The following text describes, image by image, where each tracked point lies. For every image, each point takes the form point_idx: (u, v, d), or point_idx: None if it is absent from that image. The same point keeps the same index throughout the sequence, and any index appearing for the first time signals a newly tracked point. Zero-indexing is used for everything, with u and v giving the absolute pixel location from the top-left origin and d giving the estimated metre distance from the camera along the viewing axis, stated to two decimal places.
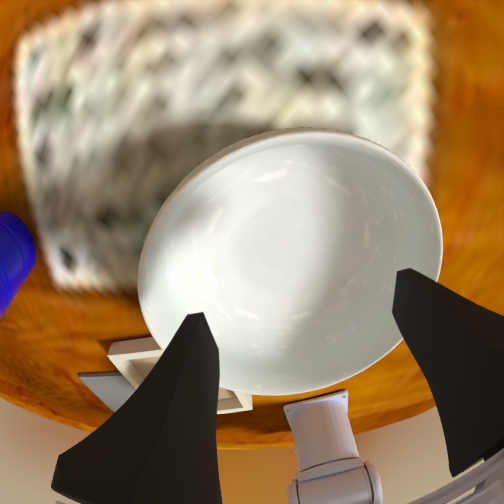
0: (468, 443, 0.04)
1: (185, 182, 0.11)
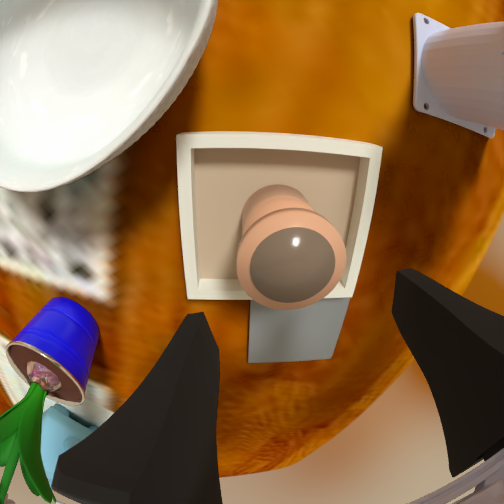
0: (468, 443, 0.04)
1: None
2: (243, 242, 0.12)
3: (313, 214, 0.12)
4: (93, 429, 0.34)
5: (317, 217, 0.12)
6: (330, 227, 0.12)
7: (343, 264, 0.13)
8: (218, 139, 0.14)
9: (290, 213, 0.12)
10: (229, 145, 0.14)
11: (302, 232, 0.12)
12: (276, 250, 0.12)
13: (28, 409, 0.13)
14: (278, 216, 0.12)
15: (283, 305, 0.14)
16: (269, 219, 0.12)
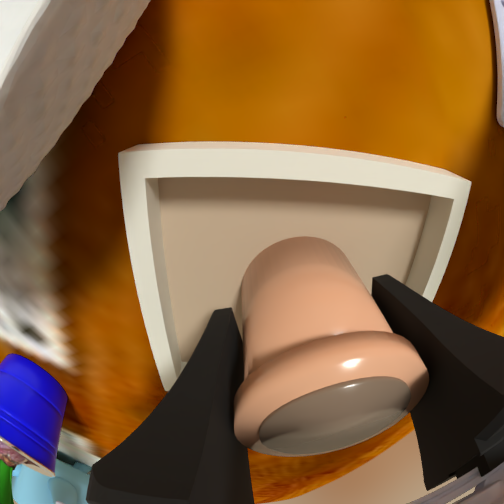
0: (440, 458, 0.04)
1: None
2: (247, 402, 0.05)
3: (395, 348, 0.05)
4: (79, 465, 0.26)
5: (402, 356, 0.05)
6: (418, 366, 0.05)
7: (416, 402, 0.06)
8: (197, 160, 0.07)
9: (353, 358, 0.05)
10: (218, 172, 0.07)
11: (369, 385, 0.05)
12: (313, 414, 0.05)
13: None
14: (327, 366, 0.05)
15: (310, 452, 0.07)
16: (306, 374, 0.05)
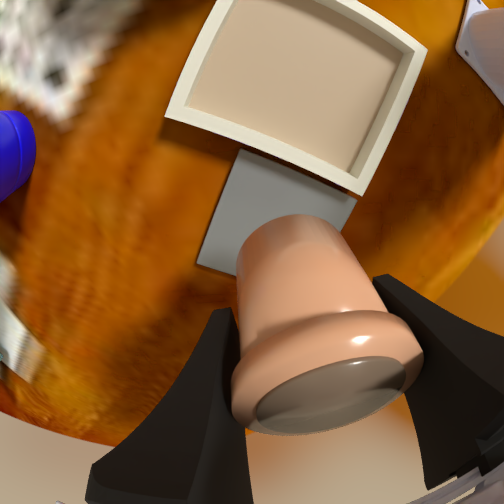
0: (441, 458, 0.04)
1: None
2: (246, 380, 0.06)
3: (393, 328, 0.05)
4: None
5: (400, 336, 0.05)
6: (415, 347, 0.05)
7: (409, 384, 0.07)
8: None
9: (354, 337, 0.05)
10: None
11: (367, 364, 0.05)
12: (311, 393, 0.06)
13: None
14: (328, 344, 0.05)
15: (304, 431, 0.07)
16: (307, 351, 0.05)
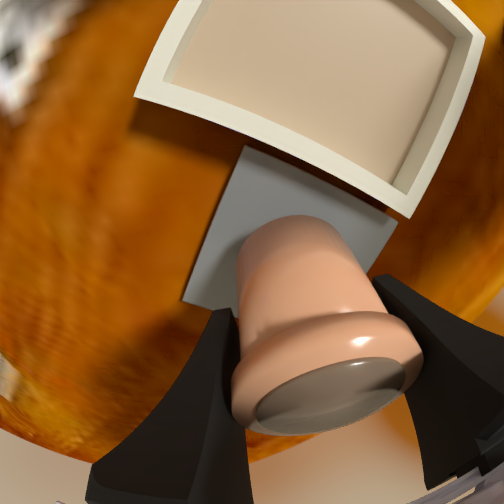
0: (441, 458, 0.04)
1: None
2: (246, 381, 0.06)
3: (393, 329, 0.05)
4: None
5: (400, 337, 0.05)
6: (414, 348, 0.05)
7: (409, 384, 0.07)
8: None
9: (354, 338, 0.05)
10: None
11: (367, 365, 0.05)
12: (311, 393, 0.06)
13: None
14: (328, 345, 0.05)
15: (304, 432, 0.07)
16: (306, 352, 0.05)
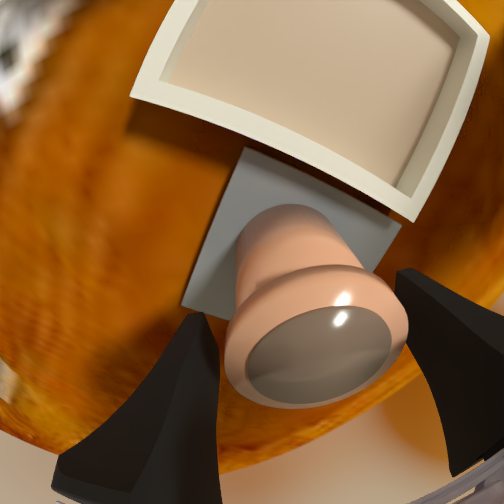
0: (468, 443, 0.04)
1: None
2: (237, 328, 0.06)
3: (371, 280, 0.06)
4: None
5: (378, 287, 0.06)
6: (395, 303, 0.06)
7: (398, 351, 0.07)
8: None
9: (332, 281, 0.06)
10: None
11: (349, 314, 0.06)
12: (298, 344, 0.06)
13: None
14: (309, 287, 0.06)
15: (297, 404, 0.08)
16: (290, 293, 0.06)
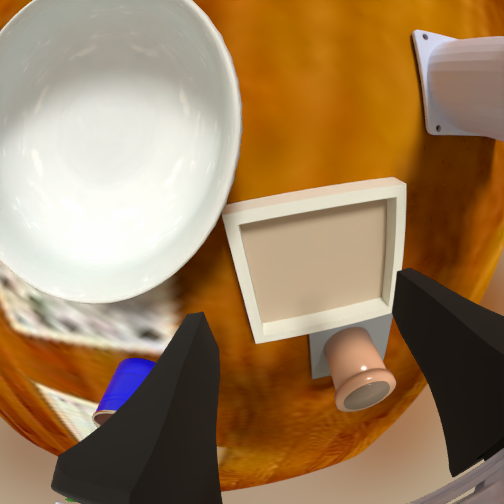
0: (468, 443, 0.04)
1: None
2: (336, 400, 0.19)
3: (368, 376, 0.18)
4: None
5: (371, 378, 0.18)
6: (379, 377, 0.18)
7: (394, 381, 0.18)
8: (262, 212, 0.17)
9: (355, 384, 0.18)
10: (273, 215, 0.17)
11: (365, 386, 0.18)
12: (355, 397, 0.19)
13: None
14: (350, 387, 0.18)
15: (369, 405, 0.20)
16: (345, 390, 0.18)
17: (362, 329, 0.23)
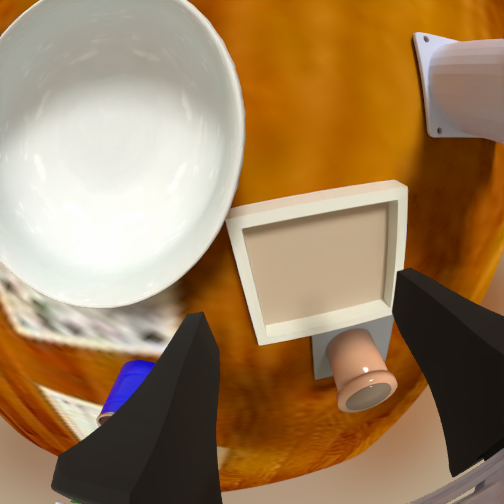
0: (468, 443, 0.04)
1: None
2: (338, 401, 0.19)
3: (370, 378, 0.18)
4: None
5: (373, 379, 0.18)
6: (381, 379, 0.18)
7: (395, 383, 0.19)
8: (264, 216, 0.17)
9: (358, 385, 0.18)
10: (275, 219, 0.17)
11: (367, 388, 0.18)
12: (357, 398, 0.19)
13: None
14: (352, 389, 0.18)
15: (370, 406, 0.20)
16: (348, 392, 0.18)
17: (364, 331, 0.23)
